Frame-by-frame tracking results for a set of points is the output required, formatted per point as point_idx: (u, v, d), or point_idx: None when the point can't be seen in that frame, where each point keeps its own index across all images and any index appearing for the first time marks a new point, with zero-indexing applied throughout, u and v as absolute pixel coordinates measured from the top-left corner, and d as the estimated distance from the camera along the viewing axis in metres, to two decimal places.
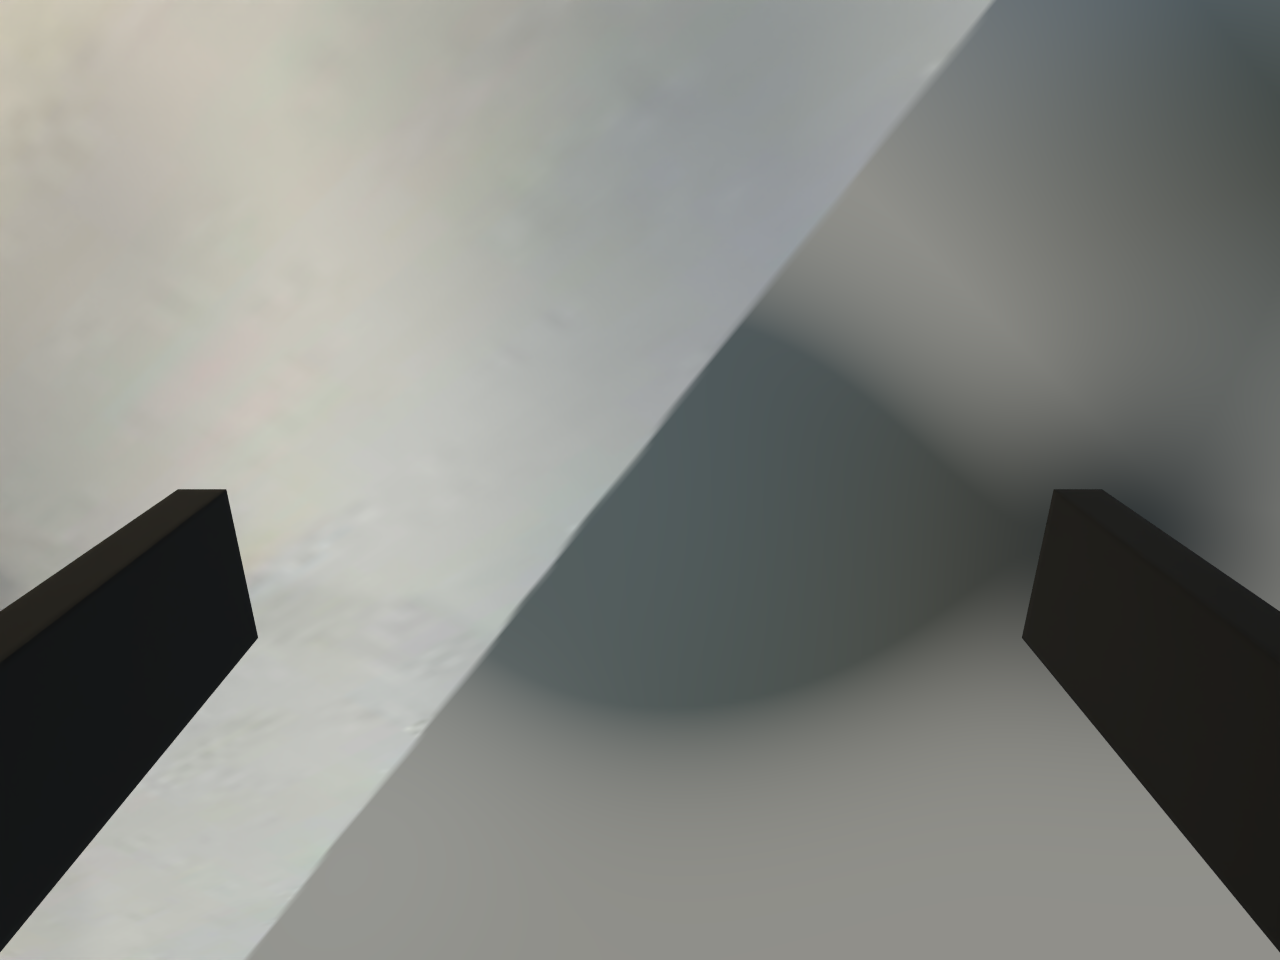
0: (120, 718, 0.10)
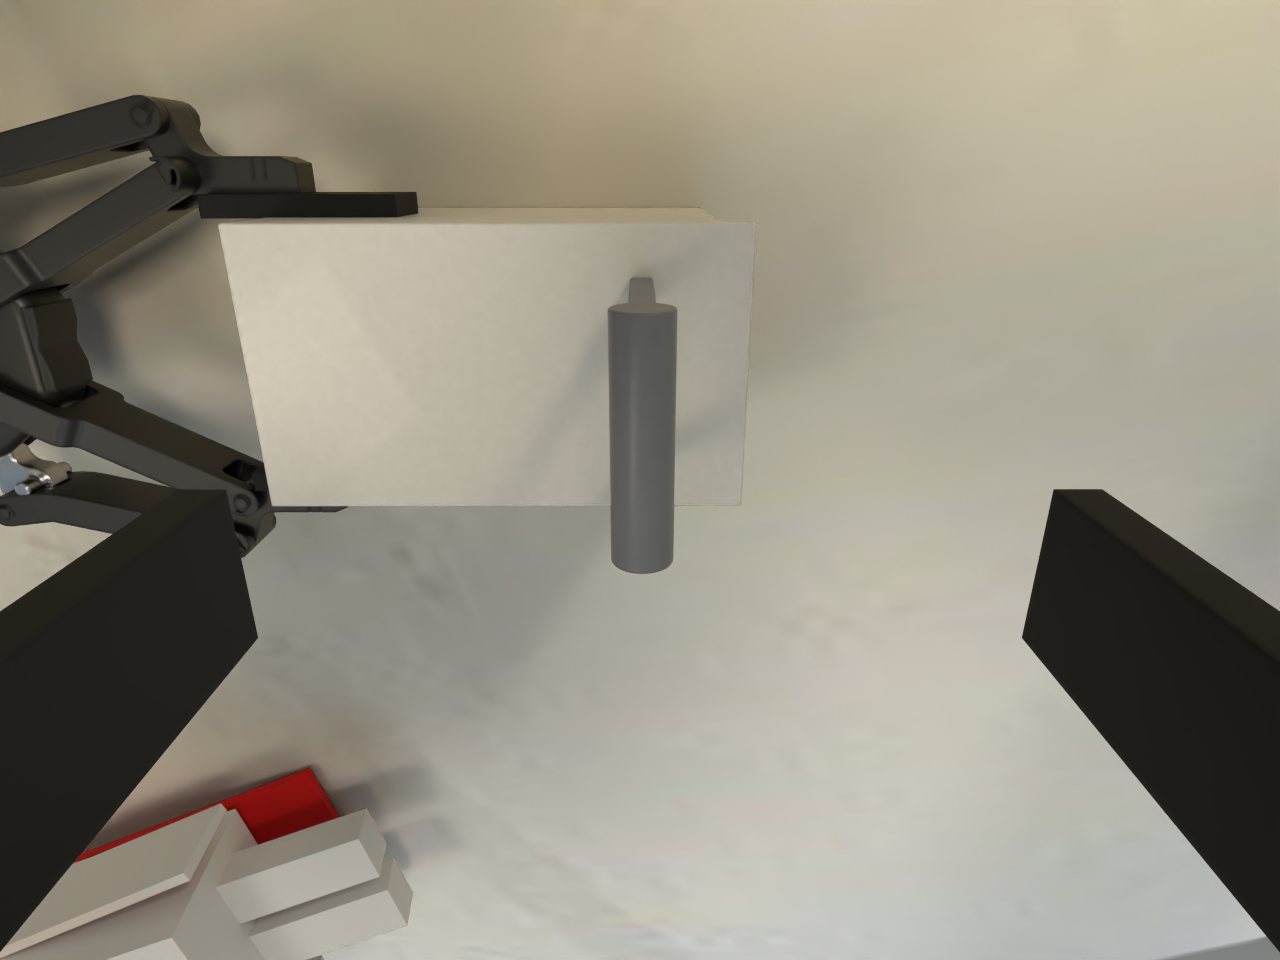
0: (120, 718, 0.10)
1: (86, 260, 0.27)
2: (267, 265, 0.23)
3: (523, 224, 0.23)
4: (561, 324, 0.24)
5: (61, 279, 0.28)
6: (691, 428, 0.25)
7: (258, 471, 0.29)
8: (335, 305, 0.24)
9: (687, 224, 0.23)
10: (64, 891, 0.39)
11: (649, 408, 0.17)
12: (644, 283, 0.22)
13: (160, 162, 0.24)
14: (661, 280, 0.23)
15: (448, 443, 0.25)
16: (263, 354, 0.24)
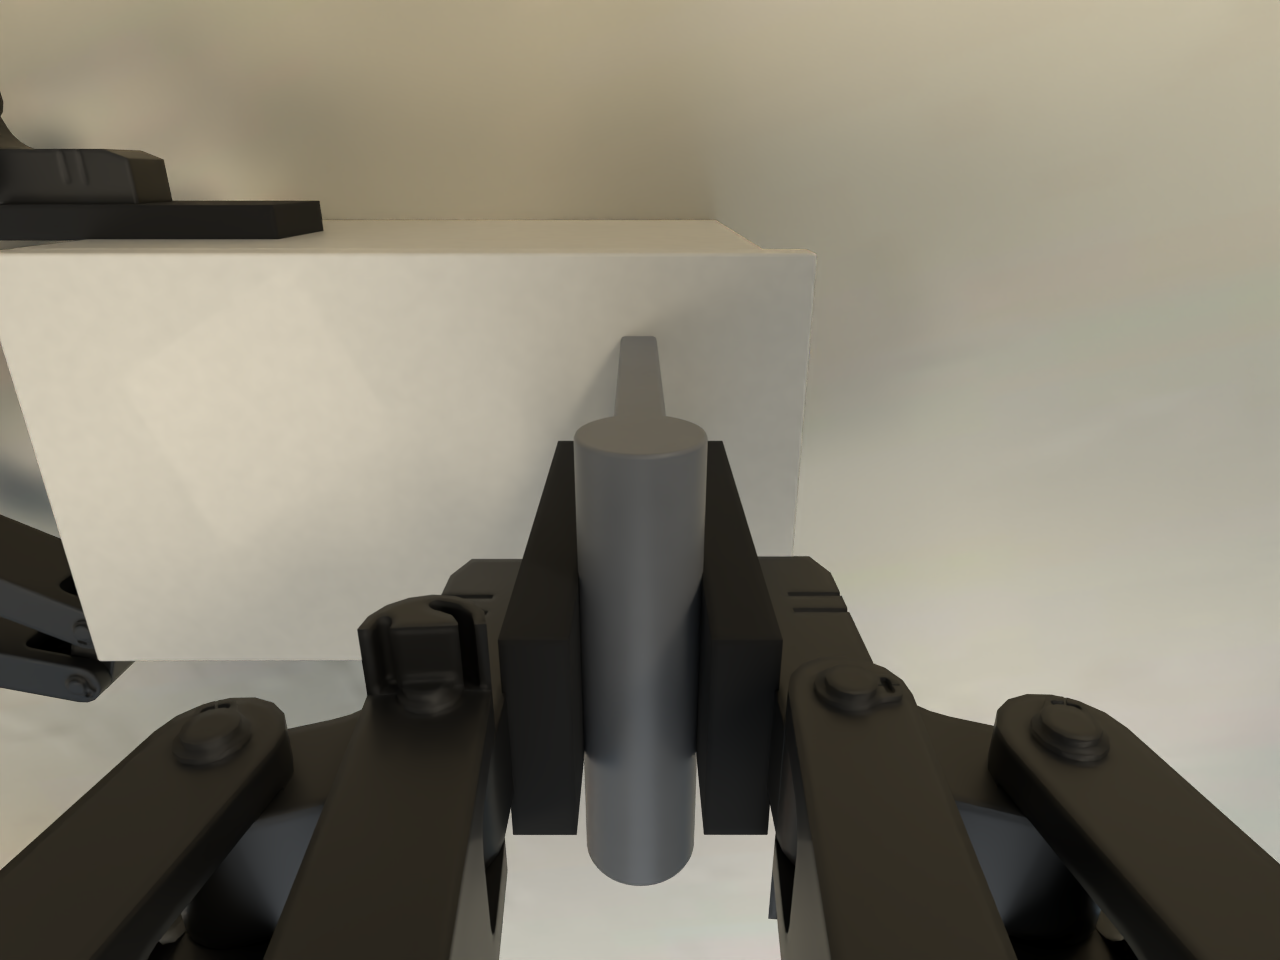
0: None
1: None
2: (57, 317, 0.15)
3: (453, 254, 0.15)
4: (516, 405, 0.16)
5: None
6: None
7: None
8: (168, 378, 0.15)
9: (710, 254, 0.15)
10: None
11: (653, 623, 0.09)
12: (643, 350, 0.14)
13: None
14: (669, 339, 0.15)
15: (352, 575, 0.17)
16: (64, 449, 0.16)
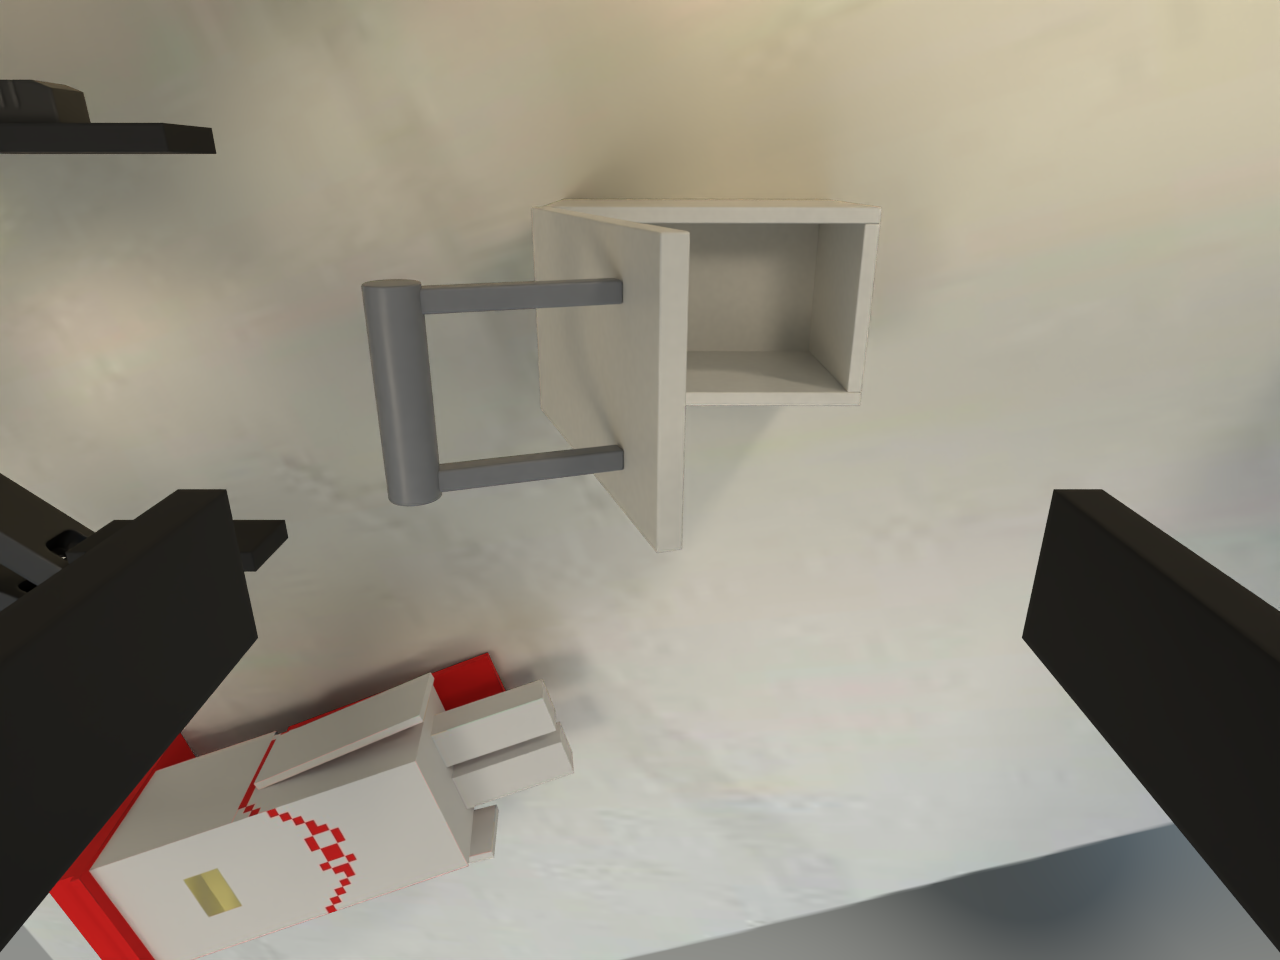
0: (120, 718, 0.10)
1: None
2: (538, 238, 0.33)
3: (587, 218, 0.26)
4: (597, 313, 0.26)
5: None
6: (637, 447, 0.23)
7: (73, 550, 0.27)
8: (549, 272, 0.32)
9: (636, 228, 0.21)
10: (312, 738, 0.49)
11: (373, 362, 0.21)
12: (575, 281, 0.23)
13: None
14: (625, 284, 0.23)
15: (571, 396, 0.31)
16: None
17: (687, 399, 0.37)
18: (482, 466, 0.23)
